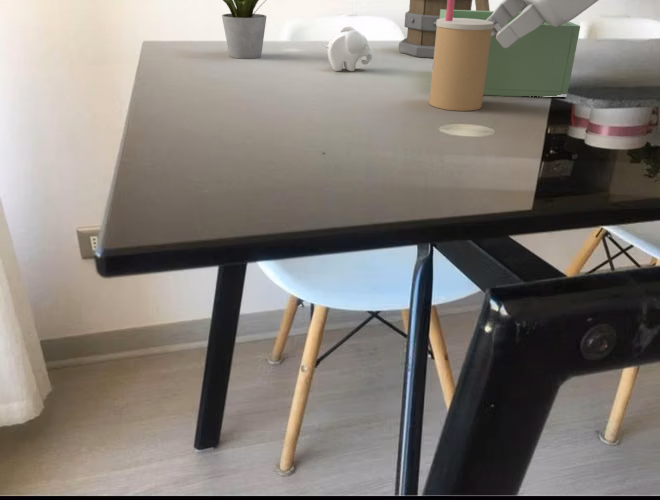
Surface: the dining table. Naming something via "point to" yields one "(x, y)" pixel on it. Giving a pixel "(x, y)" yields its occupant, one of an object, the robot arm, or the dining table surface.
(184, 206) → the dining table surface
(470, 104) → the straw cup
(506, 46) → the robot arm
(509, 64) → the bin
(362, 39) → the elephant figurine
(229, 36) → the house plant
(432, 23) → the tankard
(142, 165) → the dining table surface
